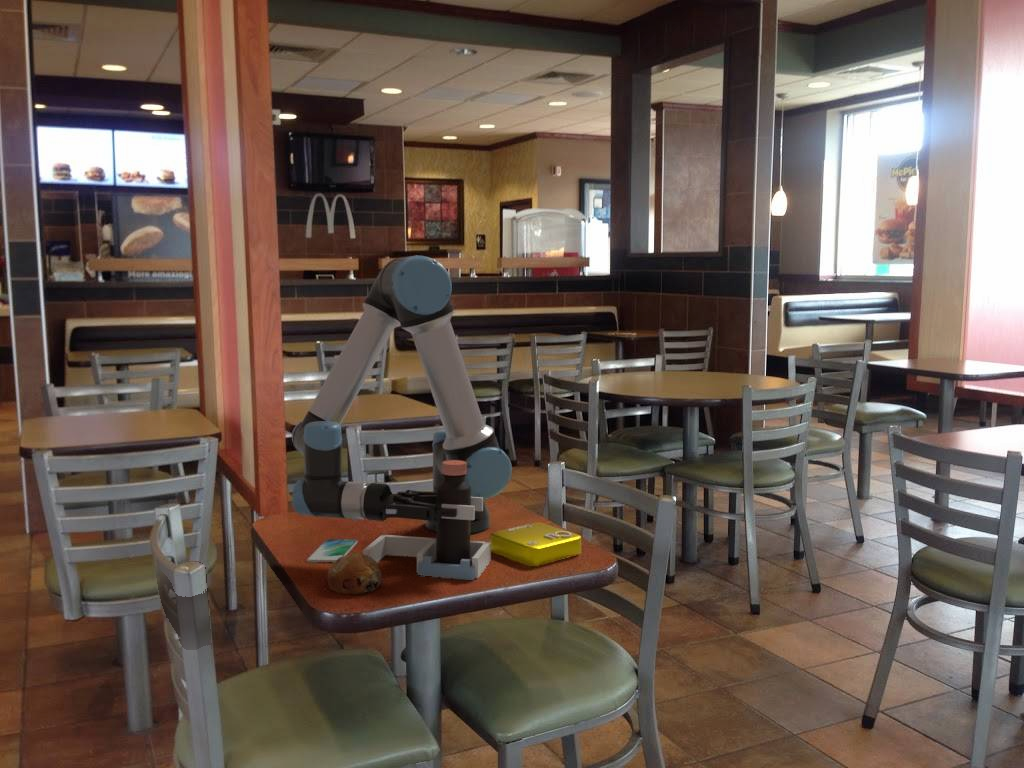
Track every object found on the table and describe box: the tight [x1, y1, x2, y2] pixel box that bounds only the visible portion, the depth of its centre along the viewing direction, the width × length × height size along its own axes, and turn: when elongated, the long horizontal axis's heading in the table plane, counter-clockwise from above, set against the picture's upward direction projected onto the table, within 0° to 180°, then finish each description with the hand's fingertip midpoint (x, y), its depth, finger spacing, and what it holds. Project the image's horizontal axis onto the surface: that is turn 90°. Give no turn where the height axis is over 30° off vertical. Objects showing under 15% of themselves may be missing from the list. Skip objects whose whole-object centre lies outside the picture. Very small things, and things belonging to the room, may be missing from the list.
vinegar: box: [435, 460, 471, 565], centre depth 178 cm, size 7×7×20 cm
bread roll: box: [326, 552, 382, 595], centre depth 169 cm, size 10×10×8 cm
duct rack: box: [362, 534, 492, 581], centre depth 180 cm, size 12×24×4 cm, turn 78°
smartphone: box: [305, 538, 358, 564], centre depth 190 cm, size 7×1×15 cm
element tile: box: [489, 521, 582, 567], centre depth 190 cm, size 15×15×5 cm
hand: (478, 508), depth 177 cm, fingers closed on vinegar, 6 cm apart
